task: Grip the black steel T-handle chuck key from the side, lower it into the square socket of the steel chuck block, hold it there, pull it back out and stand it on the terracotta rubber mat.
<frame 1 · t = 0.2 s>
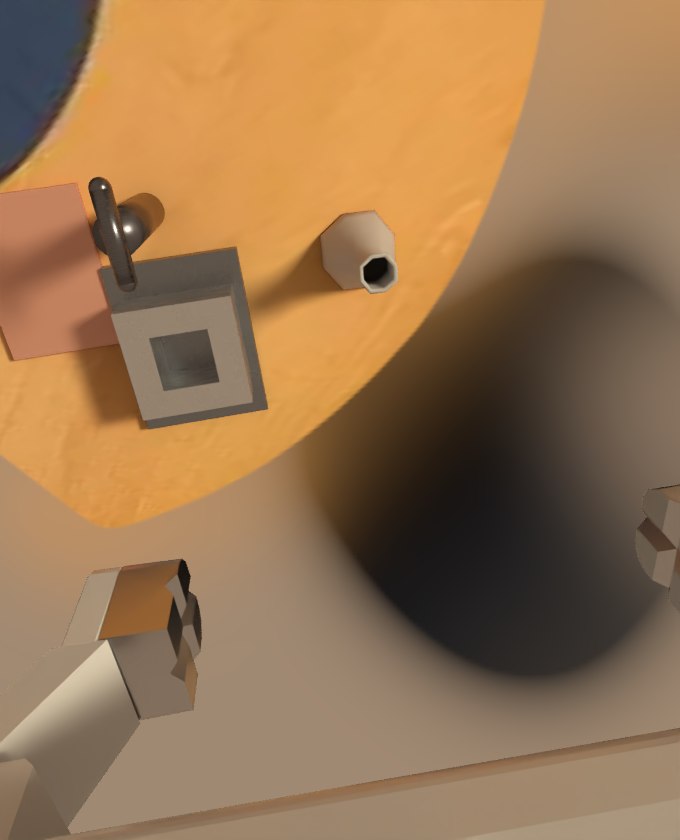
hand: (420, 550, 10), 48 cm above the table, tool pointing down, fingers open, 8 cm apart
flask: (357, 250, 55), on the table
key mat: (45, 275, 52), on the table
chuck block: (190, 340, 57), on the table
chuck key: (146, 211, 51), on the table
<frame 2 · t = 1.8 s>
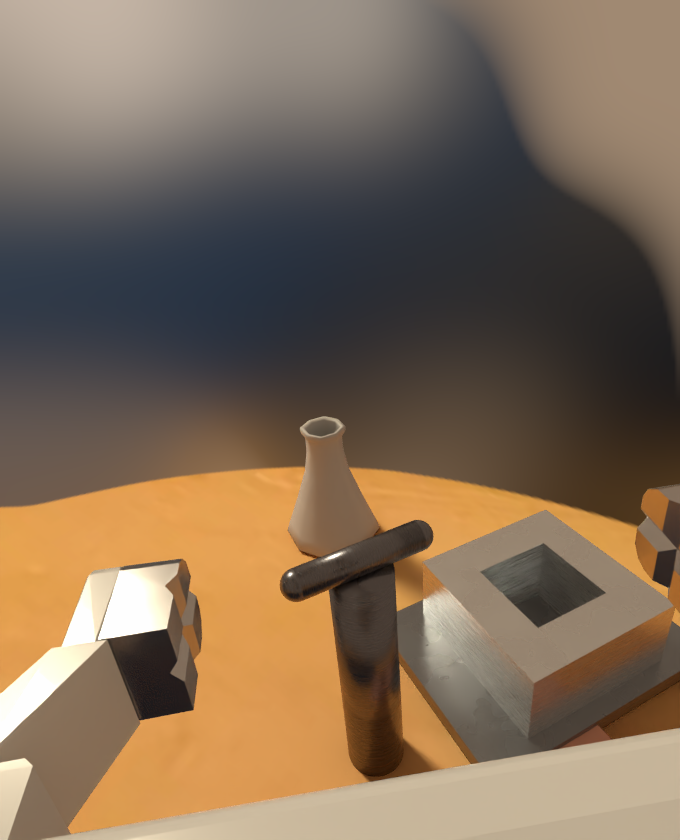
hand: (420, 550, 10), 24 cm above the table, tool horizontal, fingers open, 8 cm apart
flask: (333, 533, 49), on the table
chuck block: (533, 646, 37), on the table
chuck key: (375, 748, 32), on the table
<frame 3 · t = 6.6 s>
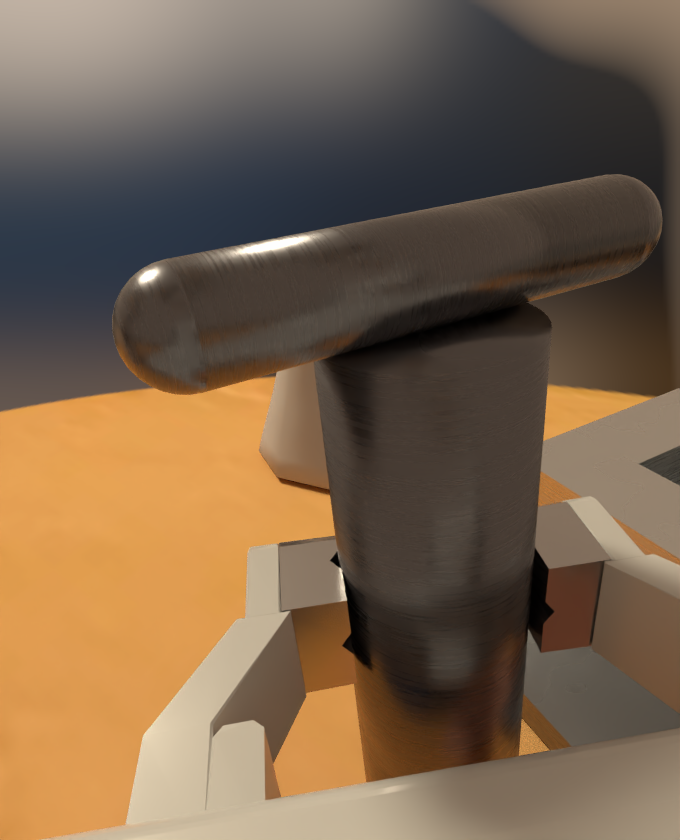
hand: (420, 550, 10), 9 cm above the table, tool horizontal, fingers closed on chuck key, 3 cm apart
flask: (333, 454, 30), on the table
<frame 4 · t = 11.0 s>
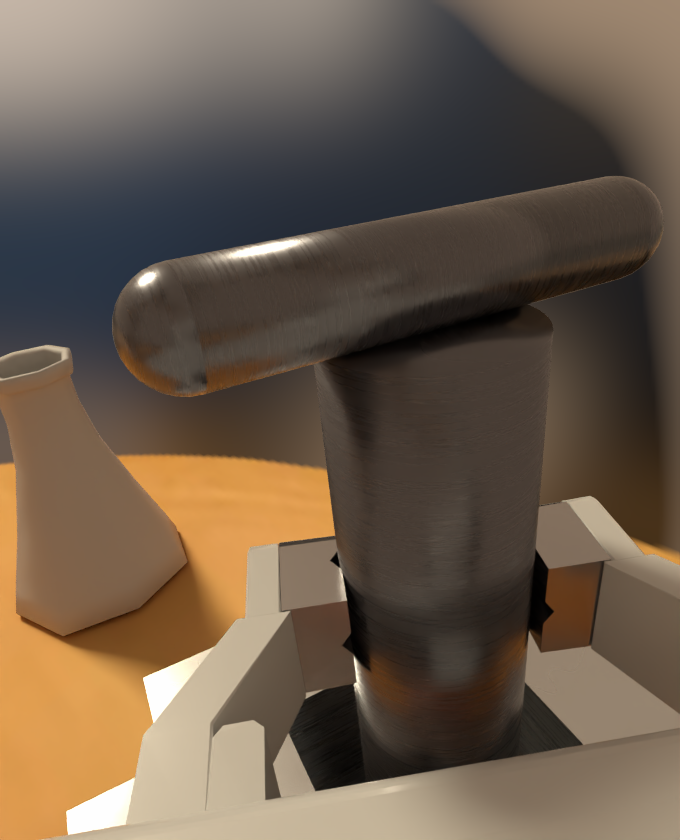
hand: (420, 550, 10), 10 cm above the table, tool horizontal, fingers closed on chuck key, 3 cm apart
flask: (105, 574, 26), on the table
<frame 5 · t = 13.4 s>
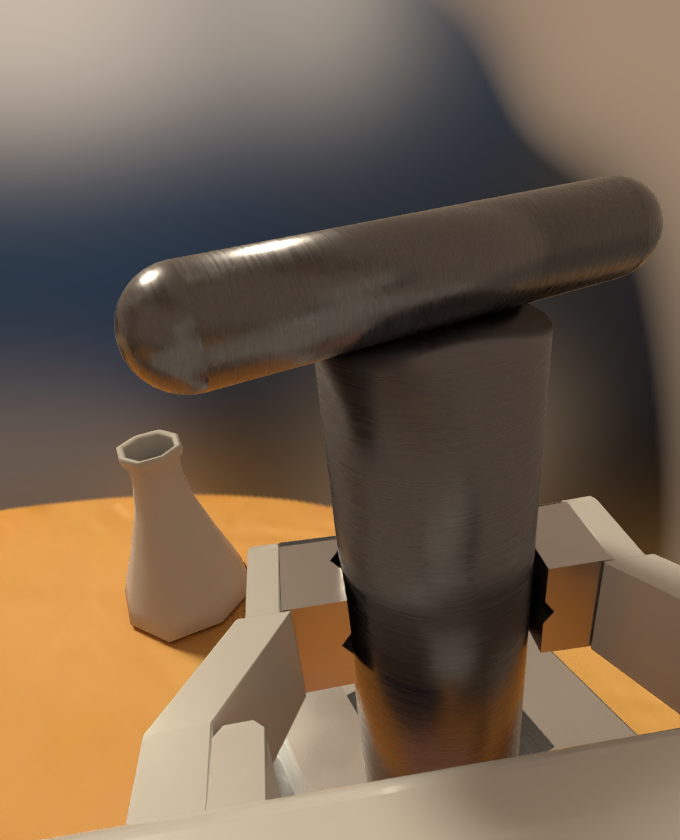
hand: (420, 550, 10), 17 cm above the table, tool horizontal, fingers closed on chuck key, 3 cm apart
flask: (190, 594, 35), on the table
chuck block: (445, 810, 23), on the table
when the fingers open (11 cm above the table, at t = 15.6 s): chuck key drops 1 cm, resting on key mat.
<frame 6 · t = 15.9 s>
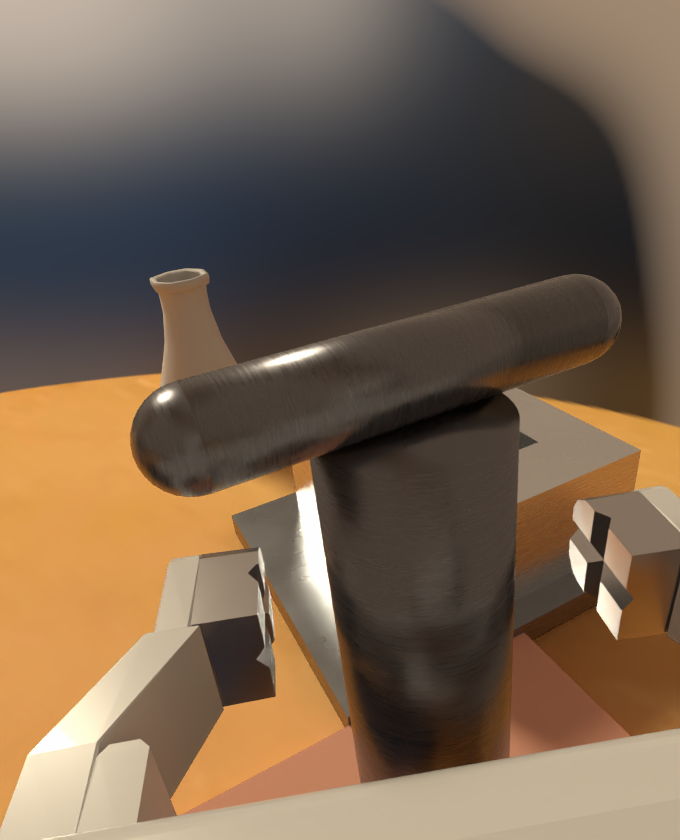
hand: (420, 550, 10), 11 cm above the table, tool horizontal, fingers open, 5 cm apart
flask: (214, 432, 38), on the table
chuck block: (447, 541, 26), on the table
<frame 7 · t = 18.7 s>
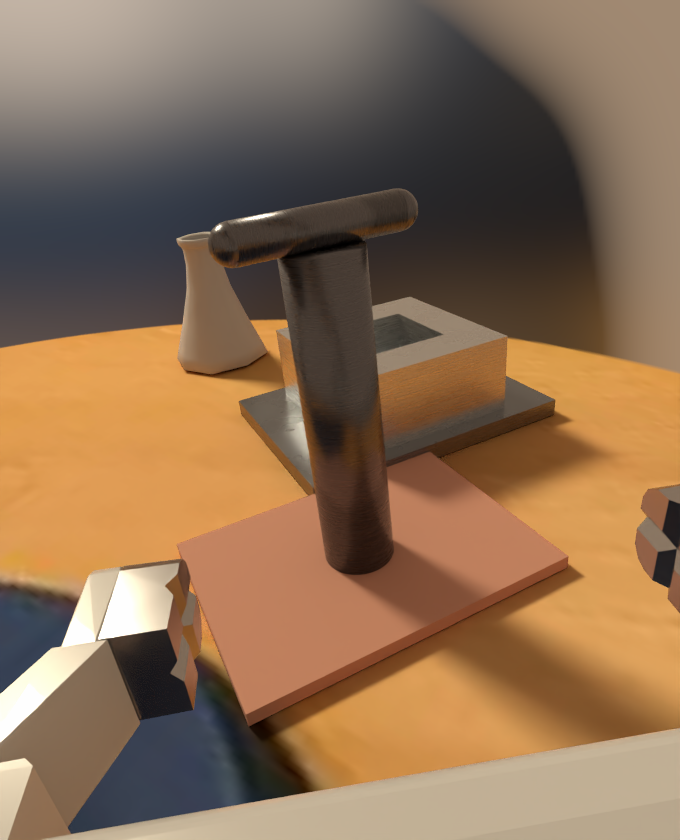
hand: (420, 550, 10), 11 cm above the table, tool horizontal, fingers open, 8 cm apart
flask: (223, 360, 49), on the table
key mat: (361, 560, 26), on the table
chuck block: (389, 414, 38), on the table
chuck key: (359, 550, 26), point 1 cm above the table, touching key mat
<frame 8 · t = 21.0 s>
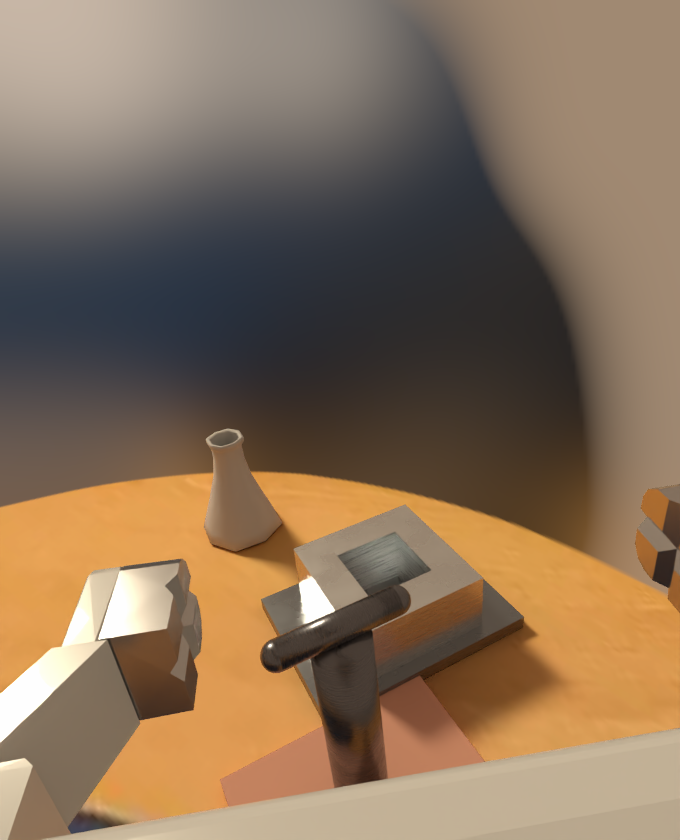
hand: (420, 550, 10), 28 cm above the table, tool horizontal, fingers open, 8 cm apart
flask: (243, 528, 57), on the table
key mat: (365, 801, 34), on the table
chuck block: (387, 617, 45), on the table
chuck key: (363, 796, 33), point 1 cm above the table, touching key mat
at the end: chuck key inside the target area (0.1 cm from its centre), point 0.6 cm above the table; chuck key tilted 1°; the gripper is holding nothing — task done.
